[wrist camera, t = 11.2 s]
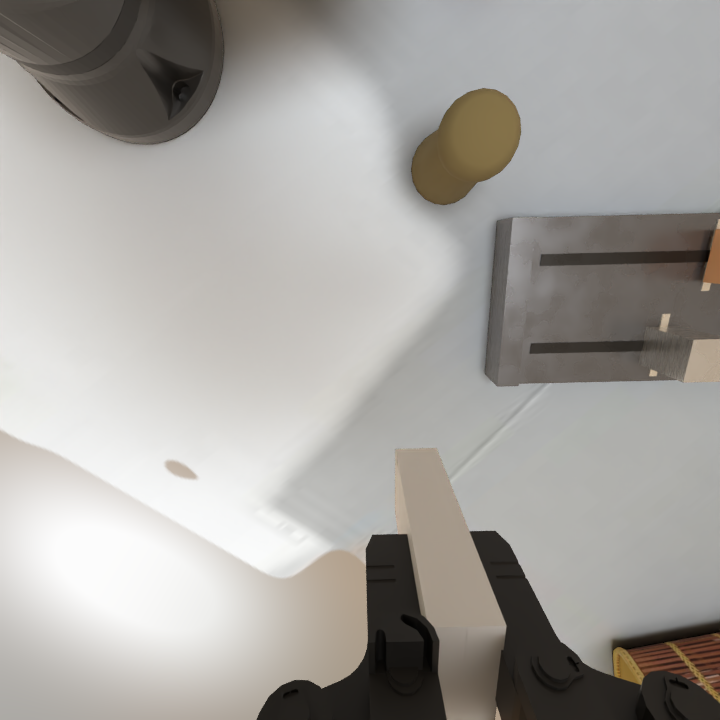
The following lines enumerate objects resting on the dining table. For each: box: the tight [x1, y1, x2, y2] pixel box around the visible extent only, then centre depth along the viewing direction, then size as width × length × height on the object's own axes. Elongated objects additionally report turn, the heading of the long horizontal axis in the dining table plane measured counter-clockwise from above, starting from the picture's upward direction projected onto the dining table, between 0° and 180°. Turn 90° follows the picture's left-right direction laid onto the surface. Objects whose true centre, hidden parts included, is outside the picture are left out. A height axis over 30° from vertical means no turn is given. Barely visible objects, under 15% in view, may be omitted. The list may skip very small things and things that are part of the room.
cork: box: [411, 88, 521, 205], centre depth 27 cm, size 6×6×11 cm
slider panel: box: [485, 213, 720, 386], centre depth 32 cm, size 15×26×8 cm, turn 91°
